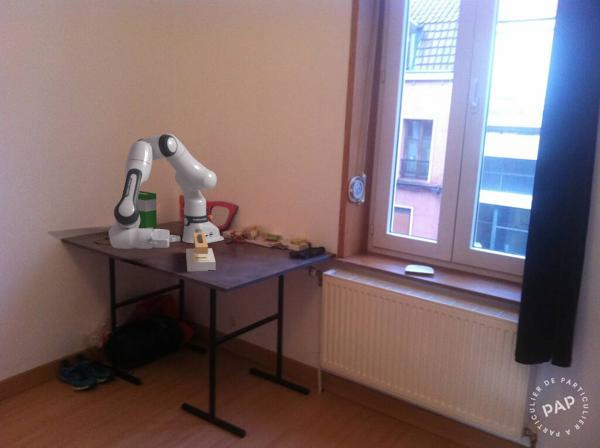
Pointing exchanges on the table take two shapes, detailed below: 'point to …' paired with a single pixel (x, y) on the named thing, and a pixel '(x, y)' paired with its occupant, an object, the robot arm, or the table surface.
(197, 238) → the light wooden bar
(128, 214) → the robot arm
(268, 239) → the table surface
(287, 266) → the table surface
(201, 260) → the two-drawer filing cabinet
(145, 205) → the hardback book
